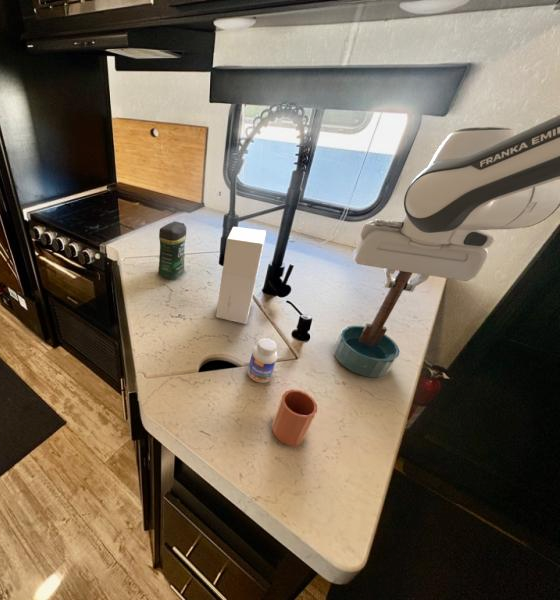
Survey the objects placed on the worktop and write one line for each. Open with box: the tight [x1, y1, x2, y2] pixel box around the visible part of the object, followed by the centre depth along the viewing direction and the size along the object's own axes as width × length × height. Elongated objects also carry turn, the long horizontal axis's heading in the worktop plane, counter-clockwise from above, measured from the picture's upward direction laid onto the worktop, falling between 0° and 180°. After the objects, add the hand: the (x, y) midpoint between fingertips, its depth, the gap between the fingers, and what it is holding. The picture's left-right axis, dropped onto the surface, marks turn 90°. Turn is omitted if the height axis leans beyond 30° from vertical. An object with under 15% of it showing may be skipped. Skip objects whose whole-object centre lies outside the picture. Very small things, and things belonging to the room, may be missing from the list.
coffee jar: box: [158, 220, 187, 280], centre depth 107 cm, size 10×8×19 cm
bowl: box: [333, 325, 400, 378], centre depth 76 cm, size 12×12×6 cm
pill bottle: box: [247, 337, 278, 384], centre depth 71 cm, size 5×5×10 cm
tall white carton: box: [216, 226, 267, 325], centre depth 86 cm, size 9×9×25 cm
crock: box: [271, 389, 318, 447], centre depth 59 cm, size 6×6×9 cm
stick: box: [359, 271, 413, 346], centre depth 69 cm, size 4×2×20 cm, turn 69°
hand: (397, 288), depth 65 cm, fingers closed on stick, 2 cm apart
